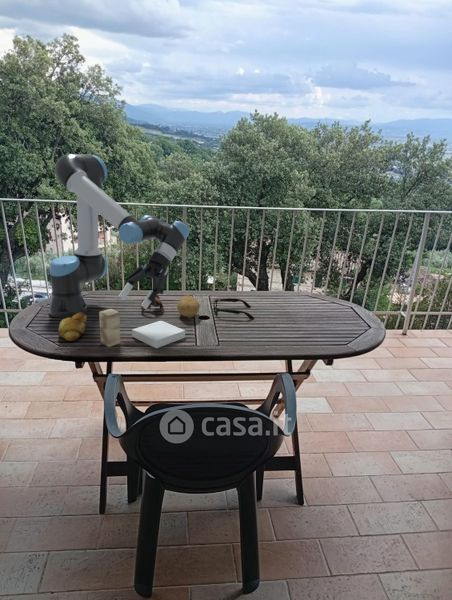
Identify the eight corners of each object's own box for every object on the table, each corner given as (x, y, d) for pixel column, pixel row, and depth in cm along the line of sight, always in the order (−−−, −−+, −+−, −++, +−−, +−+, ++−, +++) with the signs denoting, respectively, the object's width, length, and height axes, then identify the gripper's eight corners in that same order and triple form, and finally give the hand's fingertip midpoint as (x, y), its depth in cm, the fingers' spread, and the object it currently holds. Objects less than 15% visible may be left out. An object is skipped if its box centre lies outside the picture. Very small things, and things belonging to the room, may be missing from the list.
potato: (176, 321, 177) (176, 303, 174) (177, 310, 190) (177, 293, 188) (199, 322, 178) (200, 304, 175) (199, 310, 191) (199, 293, 188)
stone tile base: (132, 336, 160) (132, 329, 160) (161, 327, 171) (161, 320, 170) (156, 348, 152) (156, 340, 151) (184, 337, 162) (184, 330, 161)
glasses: (213, 308, 198) (213, 298, 197) (250, 307, 199) (251, 297, 198) (213, 321, 183) (213, 310, 181) (254, 320, 183) (254, 309, 182)
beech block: (100, 342, 154) (99, 311, 151) (112, 338, 158) (111, 308, 154) (108, 346, 151) (107, 315, 148) (120, 342, 155) (119, 312, 151)
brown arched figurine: (163, 316, 184) (154, 301, 180) (145, 323, 186) (135, 309, 182) (168, 301, 194) (159, 287, 190) (151, 308, 196) (141, 294, 193)
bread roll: (81, 343, 153) (79, 322, 151) (53, 343, 152) (51, 322, 150) (88, 329, 165) (87, 310, 163) (63, 329, 164) (61, 310, 162)
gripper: (190, 268, 158) (159, 316, 152) (147, 257, 173) (118, 299, 167) (179, 256, 152) (147, 305, 146) (136, 246, 167) (105, 289, 161)
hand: (131, 302), depth 156 cm, fingers open, 13 cm apart
